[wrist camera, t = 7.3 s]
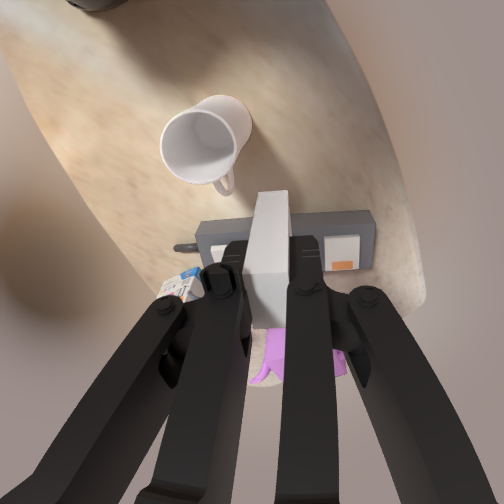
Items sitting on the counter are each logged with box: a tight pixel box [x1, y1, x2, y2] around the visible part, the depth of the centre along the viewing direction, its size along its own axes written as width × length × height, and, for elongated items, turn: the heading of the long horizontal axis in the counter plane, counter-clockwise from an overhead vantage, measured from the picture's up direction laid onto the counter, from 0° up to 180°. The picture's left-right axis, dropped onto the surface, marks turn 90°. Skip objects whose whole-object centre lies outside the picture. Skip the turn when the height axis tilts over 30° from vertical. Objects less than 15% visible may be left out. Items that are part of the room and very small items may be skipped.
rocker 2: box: [324, 234, 360, 271], centre depth 42 cm, size 5×5×1 cm
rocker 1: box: [211, 245, 227, 263], centre depth 45 cm, size 5×5×1 cm
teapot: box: [249, 328, 347, 383], centre depth 54 cm, size 20×10×12 cm, turn 118°
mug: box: [160, 95, 252, 196], centre depth 34 cm, size 12×8×12 cm
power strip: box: [173, 210, 376, 272], centre depth 46 cm, size 8×32×4 cm, turn 98°
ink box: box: [156, 267, 205, 303], centre depth 51 cm, size 9×8×12 cm
